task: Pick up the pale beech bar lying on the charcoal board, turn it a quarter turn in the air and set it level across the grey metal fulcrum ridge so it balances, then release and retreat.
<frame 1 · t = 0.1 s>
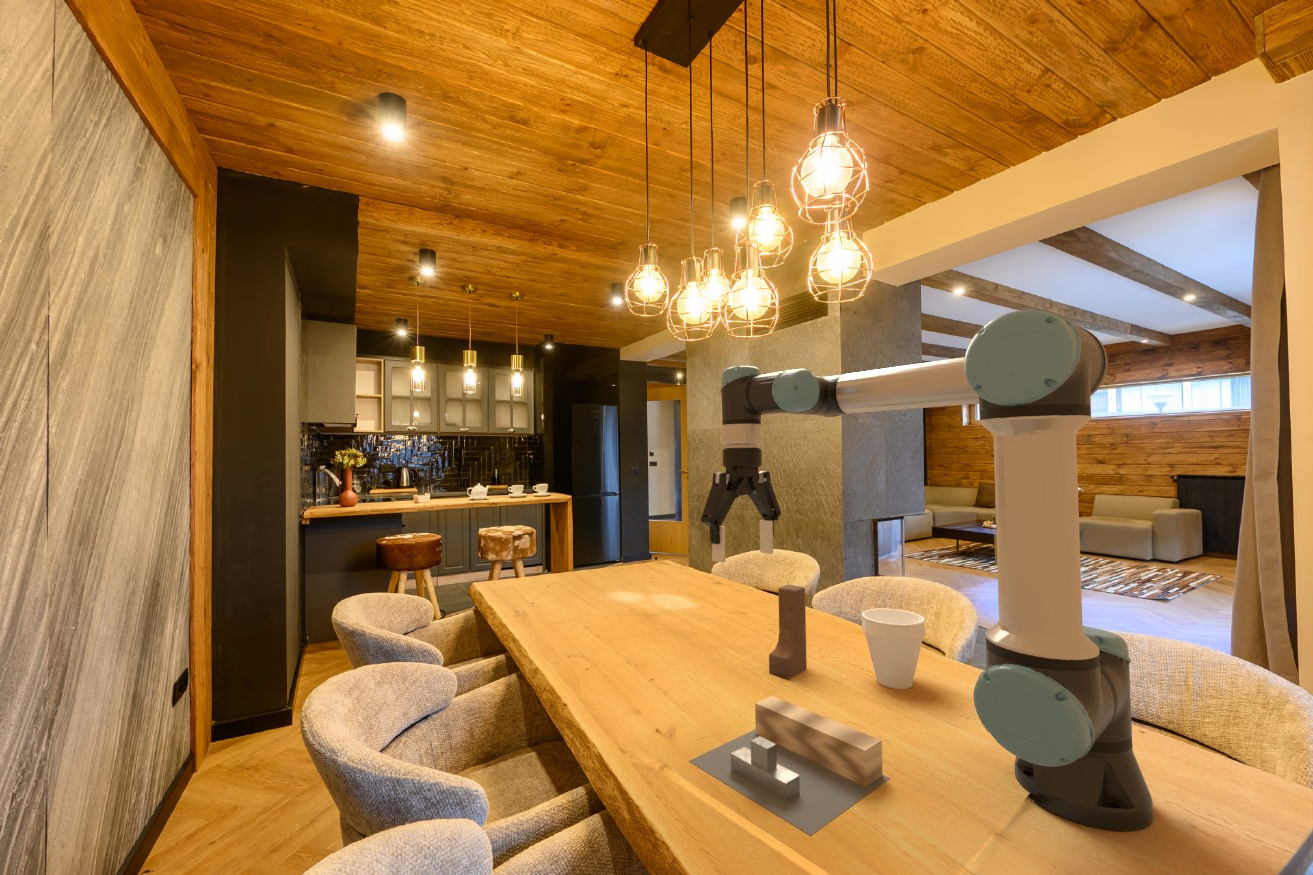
hand: (743, 557, 107), 28 cm above the table, fingers open, 13 cm apart
slate board: (786, 776, 82), on the table
fulcrum ridge: (764, 789, 79), resting on slate board
beech bar: (814, 753, 87), point 1 cm above the table, touching slate board
wooden block: (788, 672, 122), on the table
cup: (894, 683, 116), on the table
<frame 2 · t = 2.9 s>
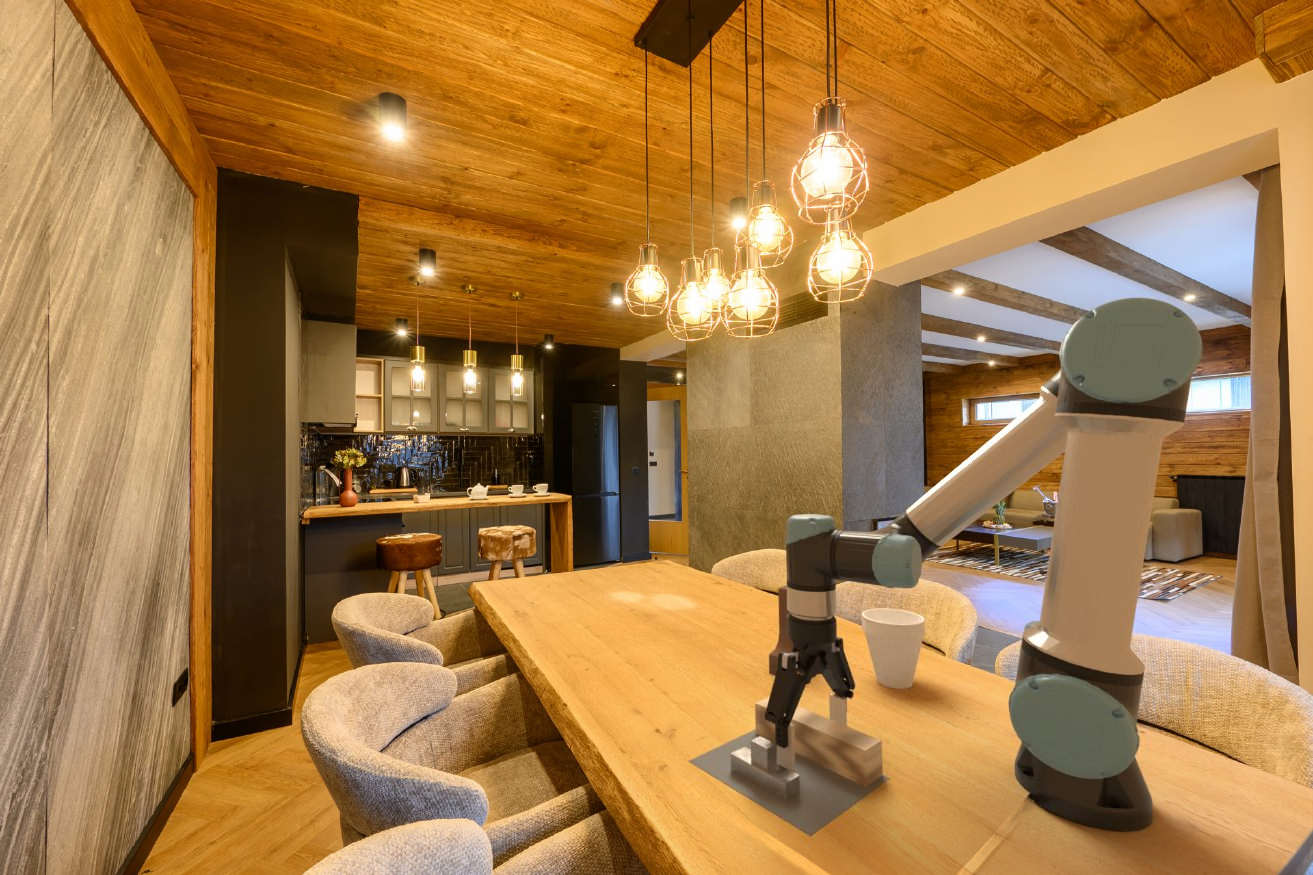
hand: (813, 751, 87), 1 cm above the table, fingers open, 13 cm apart
nothing on the table moved.
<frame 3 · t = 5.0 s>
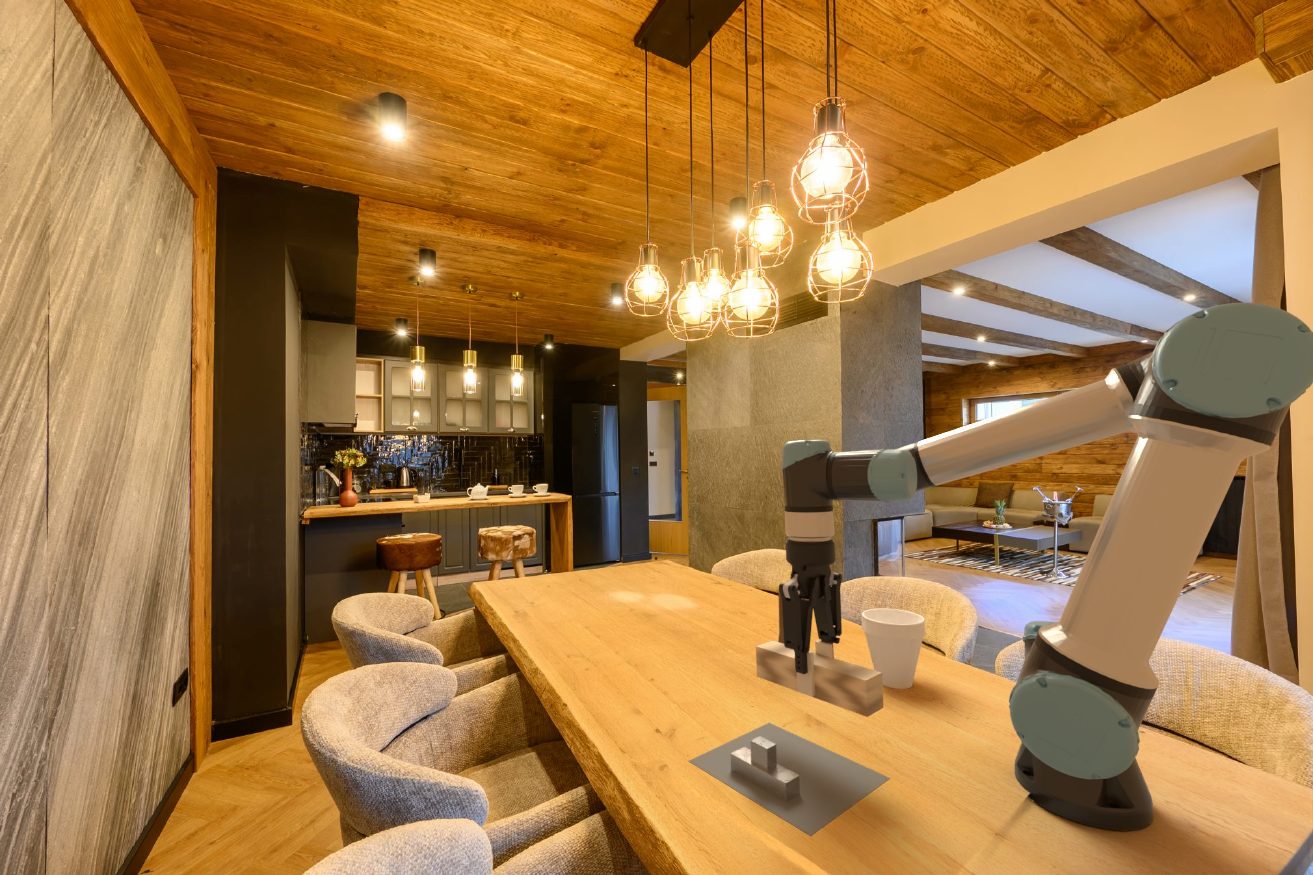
hand: (816, 688, 87), 11 cm above the table, fingers closed on beech bar, 4 cm apart
beech bar: (815, 691, 87), point 11 cm above the table, touching gripper
everything else where it was.
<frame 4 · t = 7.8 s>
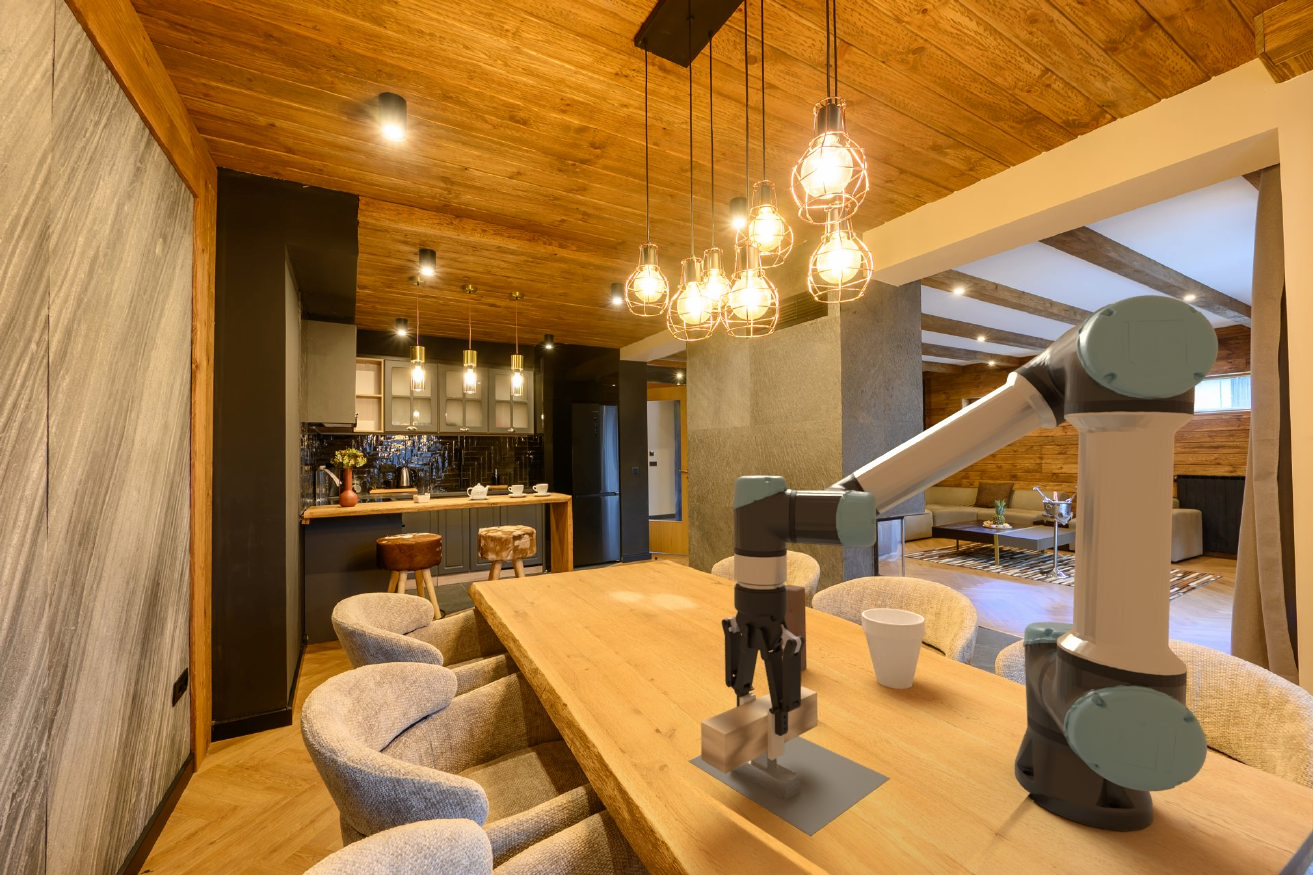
hand: (761, 748, 79), 6 cm above the table, fingers closed on beech bar, 4 cm apart
beech bar: (762, 741, 79), point 7 cm above the table, touching fulcrum ridge, gripper
everything else where it was.
when the fingers open (5 cm above the table, at t = 8.9 s): beech bar stays where it is, resting on fulcrum ridge.
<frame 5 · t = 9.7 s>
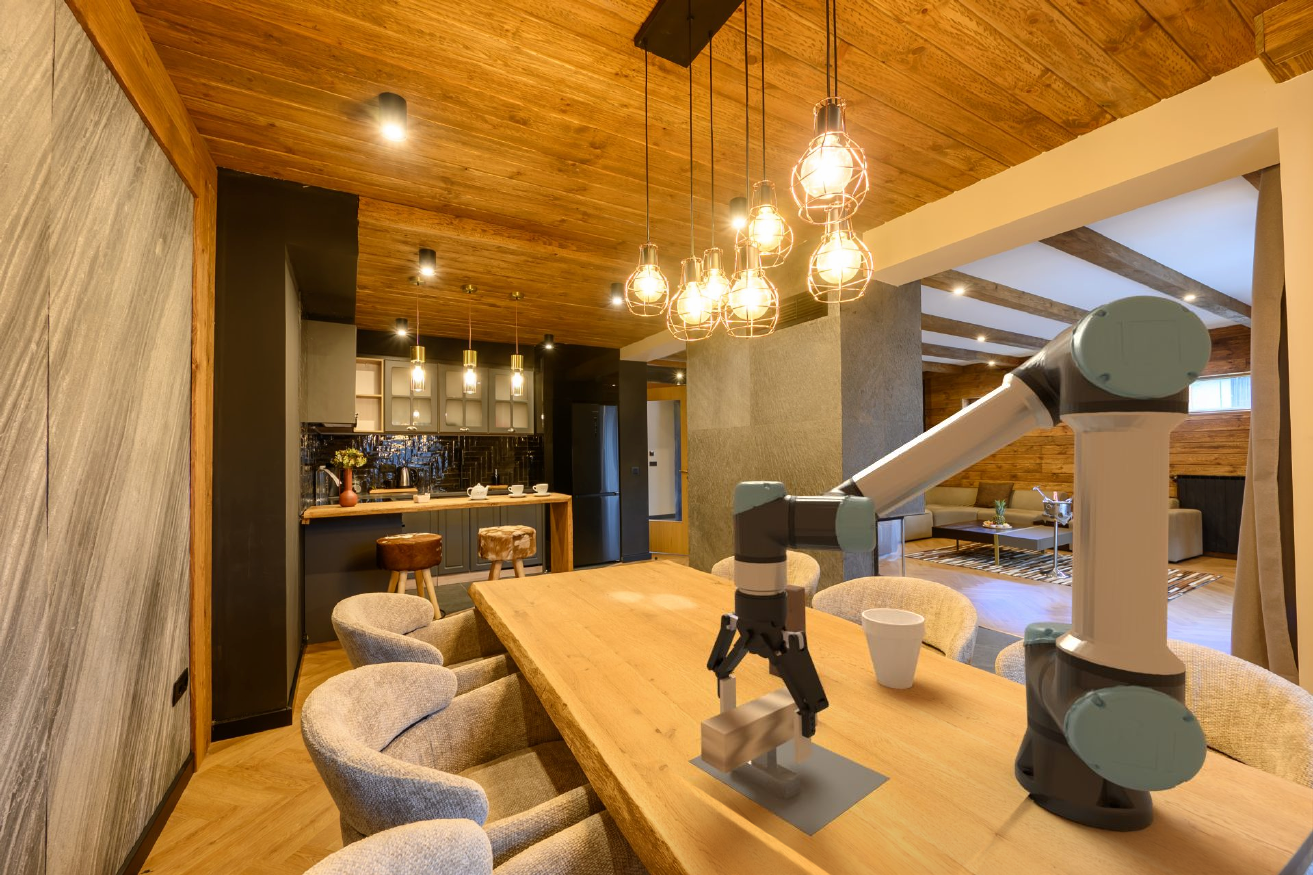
hand: (763, 739, 79), 7 cm above the table, fingers open, 13 cm apart
beech bar: (762, 741, 79), point 6 cm above the table, touching fulcrum ridge
everything else where it was.
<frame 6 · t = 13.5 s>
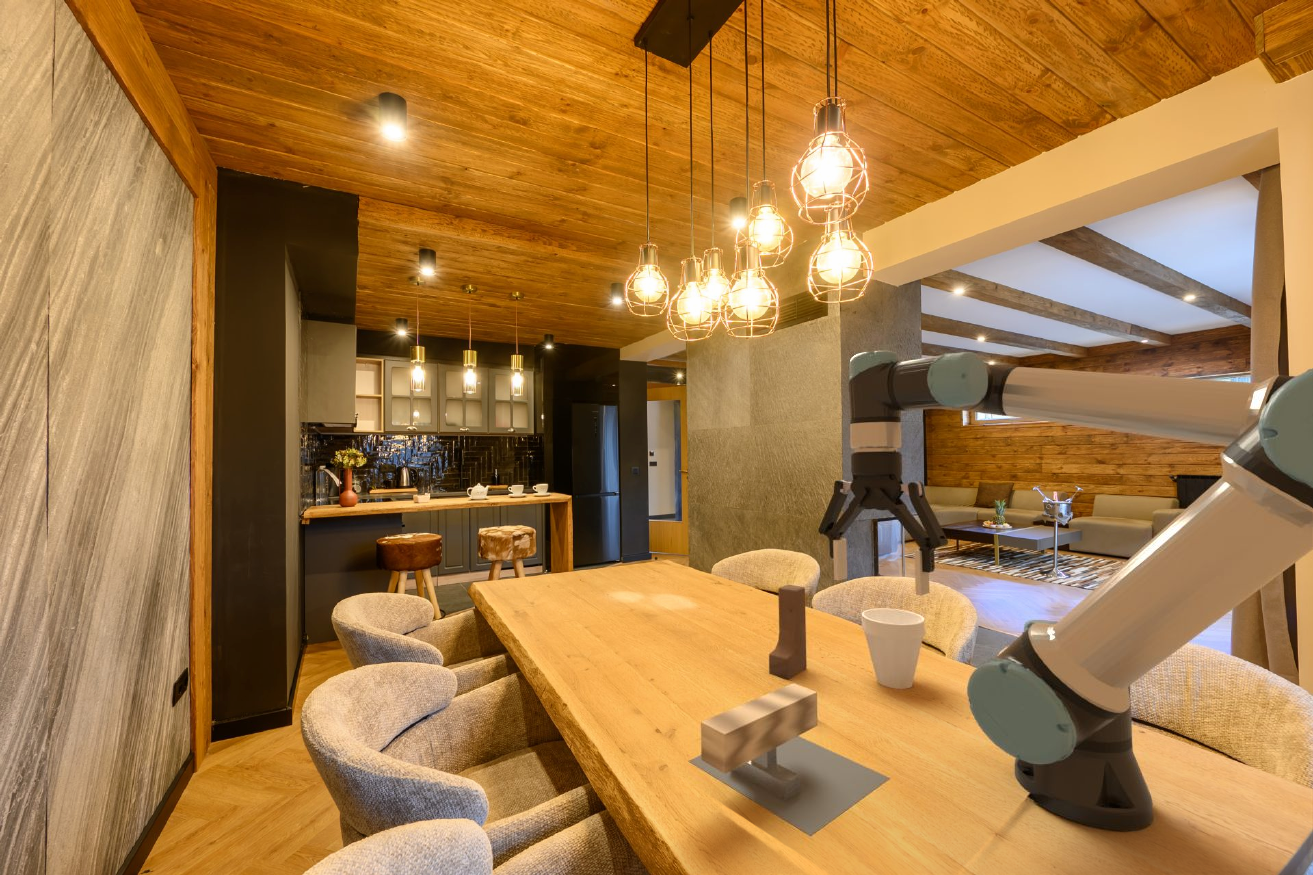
hand: (879, 586, 87), 27 cm above the table, fingers open, 13 cm apart
nothing on the table moved.
at the end: beech bar 0.2 cm off-centre on the fulcrum ridge, point 6.5 cm above the fulcrum ridge's base; beech bar tilted 0°; beech bar touching fulcrum ridge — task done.
